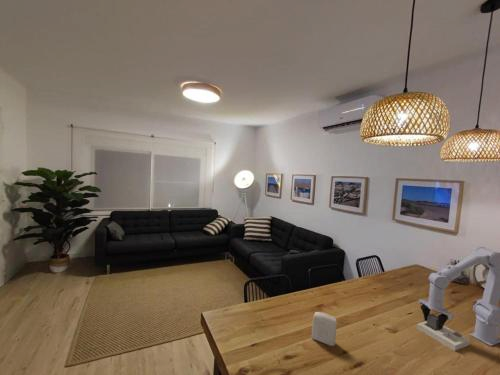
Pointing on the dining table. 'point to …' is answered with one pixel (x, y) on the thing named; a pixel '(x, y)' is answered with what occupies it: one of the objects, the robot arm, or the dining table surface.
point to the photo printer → (324, 328)
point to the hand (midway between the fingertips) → (433, 324)
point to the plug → (433, 322)
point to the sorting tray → (445, 336)
